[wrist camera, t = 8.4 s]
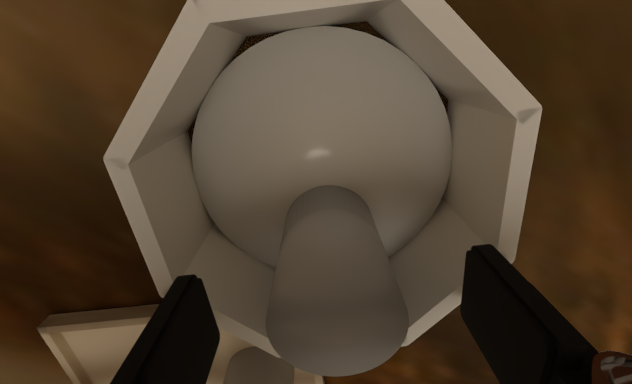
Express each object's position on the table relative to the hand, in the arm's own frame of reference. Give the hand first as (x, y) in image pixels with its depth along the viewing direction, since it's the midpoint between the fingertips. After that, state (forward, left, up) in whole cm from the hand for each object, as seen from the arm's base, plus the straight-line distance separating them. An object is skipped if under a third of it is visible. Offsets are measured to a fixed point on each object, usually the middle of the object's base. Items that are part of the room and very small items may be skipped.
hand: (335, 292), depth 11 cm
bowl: (+3, 0, -6) cm, 6 cm away
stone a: (0, 0, -5) cm, 5 cm away
